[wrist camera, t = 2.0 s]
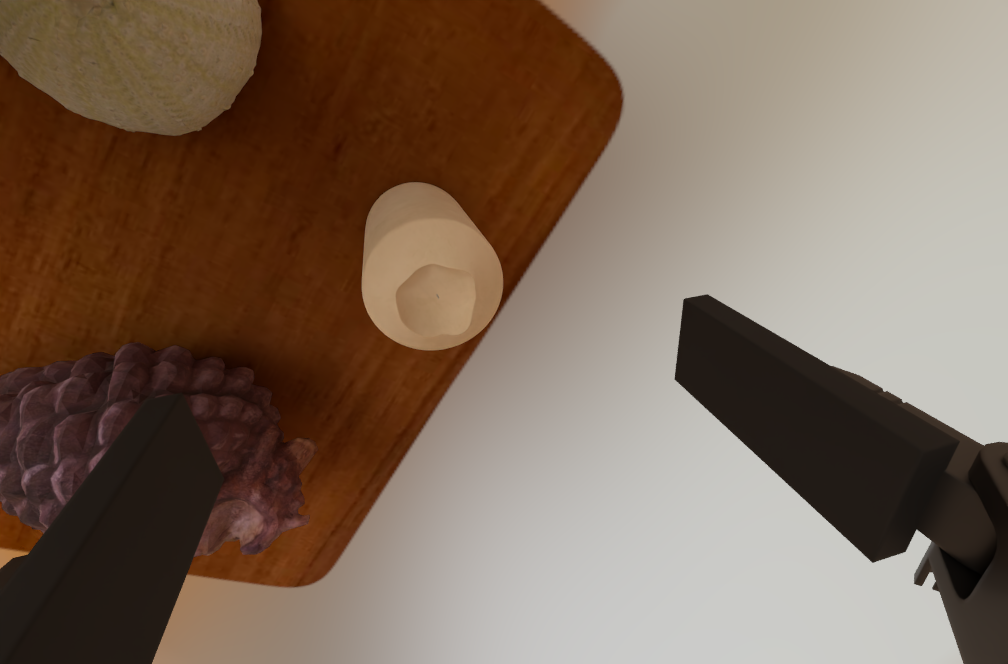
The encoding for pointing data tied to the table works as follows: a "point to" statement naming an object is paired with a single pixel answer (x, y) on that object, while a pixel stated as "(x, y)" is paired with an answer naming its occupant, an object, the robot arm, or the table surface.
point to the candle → (427, 269)
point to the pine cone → (107, 410)
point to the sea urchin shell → (135, 57)
